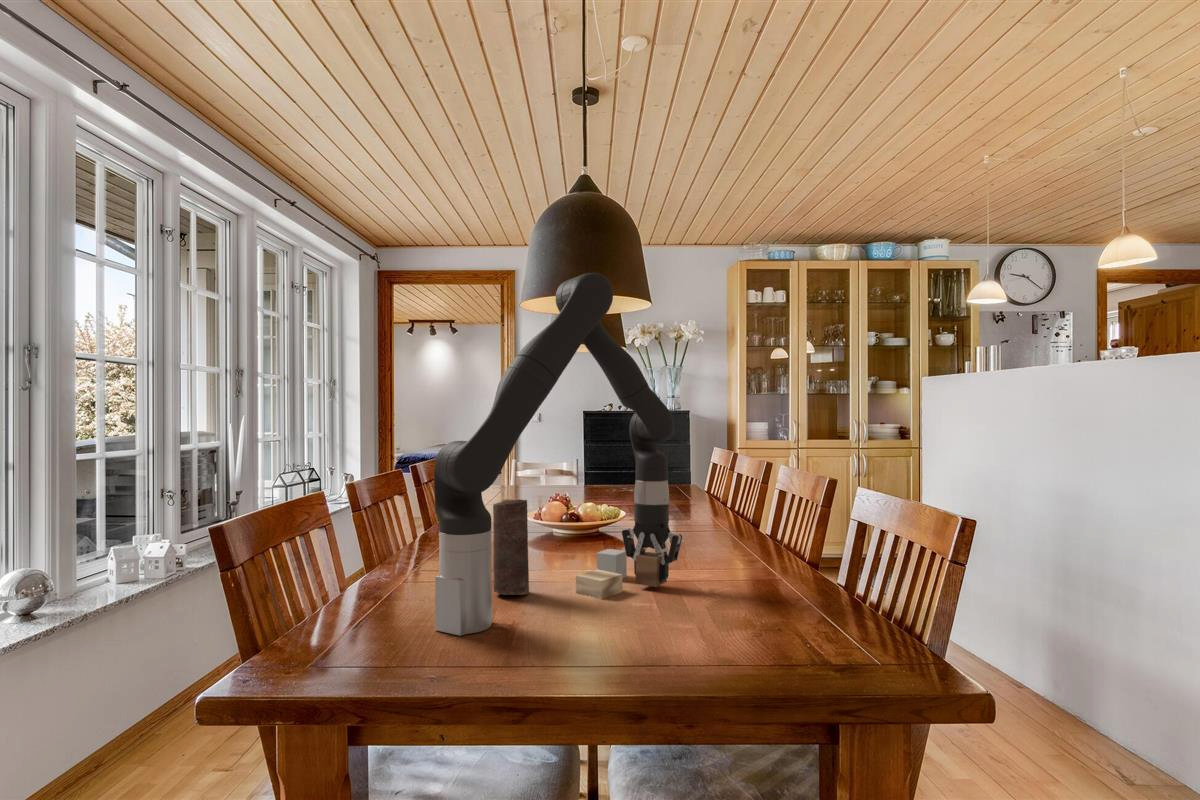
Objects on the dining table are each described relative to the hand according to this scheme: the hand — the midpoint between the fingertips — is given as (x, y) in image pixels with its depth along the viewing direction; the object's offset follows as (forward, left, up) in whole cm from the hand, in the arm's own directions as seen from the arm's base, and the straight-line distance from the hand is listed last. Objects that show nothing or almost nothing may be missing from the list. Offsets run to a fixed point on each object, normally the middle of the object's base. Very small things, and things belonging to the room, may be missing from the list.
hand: (651, 579), depth 144 cm
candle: (-20, +23, -2) cm, 30 cm away
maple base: (-9, +8, -2) cm, 12 cm away
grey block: (+3, +12, -2) cm, 13 cm away
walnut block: (0, 0, -1) cm, 1 cm away
